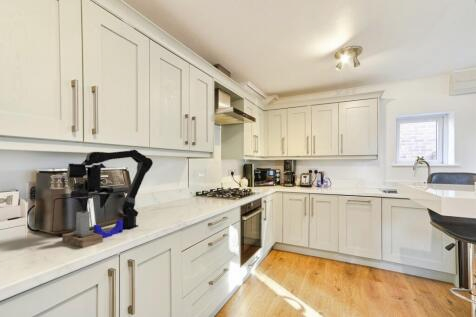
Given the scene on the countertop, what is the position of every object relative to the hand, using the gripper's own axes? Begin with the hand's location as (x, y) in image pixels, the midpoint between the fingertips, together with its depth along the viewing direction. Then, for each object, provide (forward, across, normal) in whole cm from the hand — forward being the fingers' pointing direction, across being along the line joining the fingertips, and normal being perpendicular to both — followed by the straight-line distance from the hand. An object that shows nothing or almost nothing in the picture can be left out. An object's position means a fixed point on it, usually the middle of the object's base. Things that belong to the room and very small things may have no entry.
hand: (93, 209), depth 107 cm
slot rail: (+12, +9, +4) cm, 16 cm away
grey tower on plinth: (+12, +9, +4) cm, 16 cm away
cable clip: (+12, -2, +8) cm, 15 cm away
